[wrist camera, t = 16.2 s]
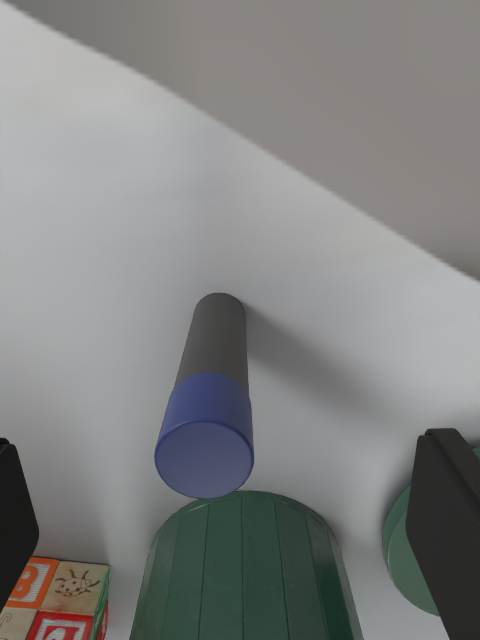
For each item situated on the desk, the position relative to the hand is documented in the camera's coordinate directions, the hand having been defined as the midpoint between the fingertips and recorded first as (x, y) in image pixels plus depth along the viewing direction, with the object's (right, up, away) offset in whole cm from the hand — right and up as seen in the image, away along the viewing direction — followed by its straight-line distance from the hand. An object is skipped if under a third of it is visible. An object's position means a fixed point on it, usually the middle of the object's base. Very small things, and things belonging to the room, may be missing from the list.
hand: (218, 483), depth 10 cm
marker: (0, +4, +10) cm, 11 cm away
